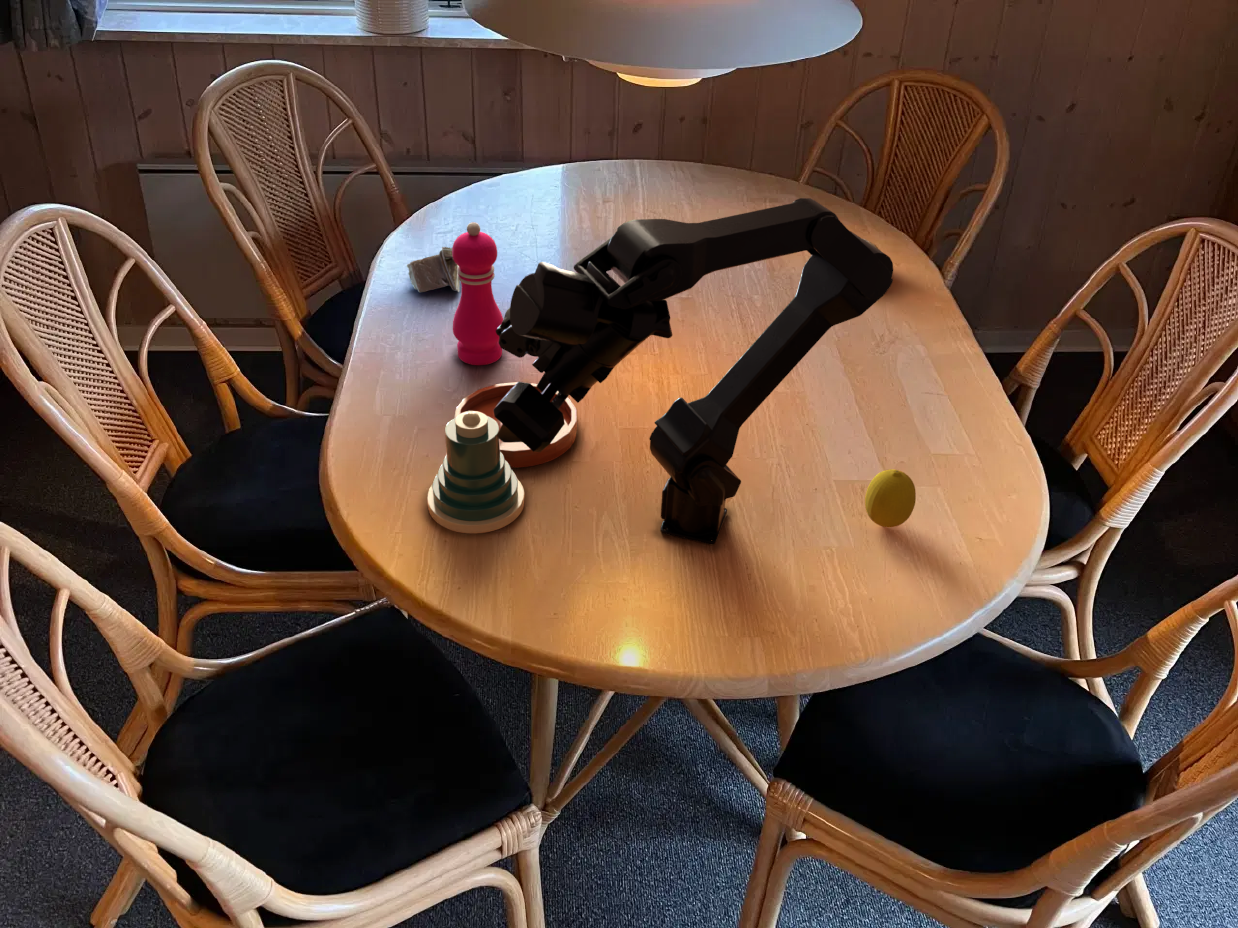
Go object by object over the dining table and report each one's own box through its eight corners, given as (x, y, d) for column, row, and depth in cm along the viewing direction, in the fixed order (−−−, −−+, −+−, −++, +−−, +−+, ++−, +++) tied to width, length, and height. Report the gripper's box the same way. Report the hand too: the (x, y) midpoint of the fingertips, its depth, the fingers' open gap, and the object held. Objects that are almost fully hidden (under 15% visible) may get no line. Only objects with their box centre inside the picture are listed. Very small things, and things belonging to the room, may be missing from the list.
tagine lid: (538, 484, 126) (537, 396, 118) (502, 542, 117) (498, 451, 110) (452, 465, 128) (446, 378, 121) (411, 520, 120) (401, 430, 112)
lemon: (877, 546, 119) (890, 491, 114) (850, 517, 123) (862, 462, 118) (917, 534, 121) (932, 479, 116) (889, 506, 125) (902, 452, 120)
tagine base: (592, 411, 139) (593, 394, 137) (551, 479, 127) (551, 461, 125) (485, 389, 142) (484, 373, 141) (435, 453, 130) (433, 436, 129)
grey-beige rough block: (416, 263, 172) (392, 238, 161) (457, 251, 172) (436, 225, 160) (429, 317, 171) (406, 296, 159) (470, 305, 170) (451, 283, 159)
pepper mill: (480, 336, 154) (473, 207, 142) (516, 353, 150) (512, 222, 138) (443, 355, 149) (433, 223, 137) (479, 373, 146) (472, 239, 134)
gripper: (580, 236, 107) (506, 316, 118) (492, 333, 95) (418, 413, 106) (659, 312, 109) (578, 383, 120) (583, 417, 97) (501, 486, 108)
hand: (521, 413), depth 113 cm, fingers open, 9 cm apart
